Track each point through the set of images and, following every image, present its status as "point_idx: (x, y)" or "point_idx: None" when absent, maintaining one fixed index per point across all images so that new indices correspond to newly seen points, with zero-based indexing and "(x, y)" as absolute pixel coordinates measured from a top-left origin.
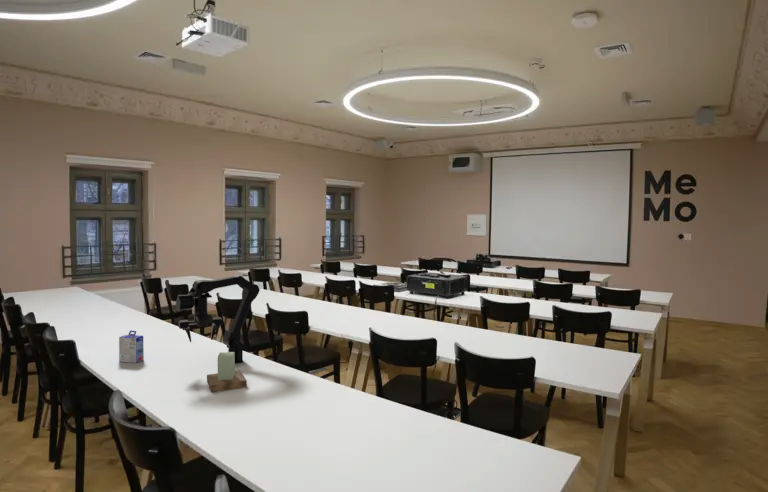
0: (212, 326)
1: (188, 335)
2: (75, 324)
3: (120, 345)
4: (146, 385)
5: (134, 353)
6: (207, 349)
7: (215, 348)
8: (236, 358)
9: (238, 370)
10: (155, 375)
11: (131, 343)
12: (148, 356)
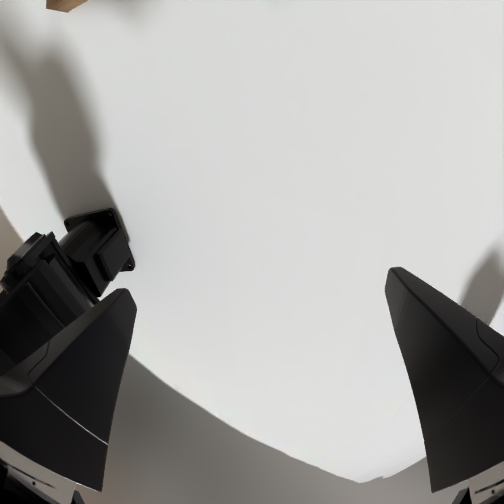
0: (54, 451)
1: (474, 323)
2: (421, 451)
3: None
4: (492, 45)
5: None
6: (240, 391)
7: (214, 391)
8: (77, 227)
9: (53, 3)
10: (472, 155)
11: None
12: None
